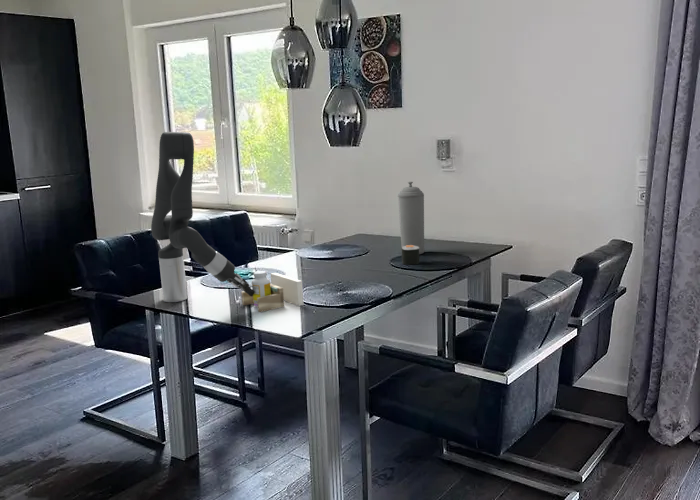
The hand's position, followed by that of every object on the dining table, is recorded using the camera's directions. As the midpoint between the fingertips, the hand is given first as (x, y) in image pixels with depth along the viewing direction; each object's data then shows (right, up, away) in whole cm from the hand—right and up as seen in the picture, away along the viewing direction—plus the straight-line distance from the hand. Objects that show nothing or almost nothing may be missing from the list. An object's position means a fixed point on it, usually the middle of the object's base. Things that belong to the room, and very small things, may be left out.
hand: (252, 293), depth 246 cm
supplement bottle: (+3, -5, +3) cm, 7 cm away
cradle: (+3, -5, +4) cm, 7 cm away
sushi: (+63, +10, +63) cm, 90 cm away
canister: (+66, +14, +85) cm, 108 cm away
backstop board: (+12, -3, +10) cm, 16 cm away
